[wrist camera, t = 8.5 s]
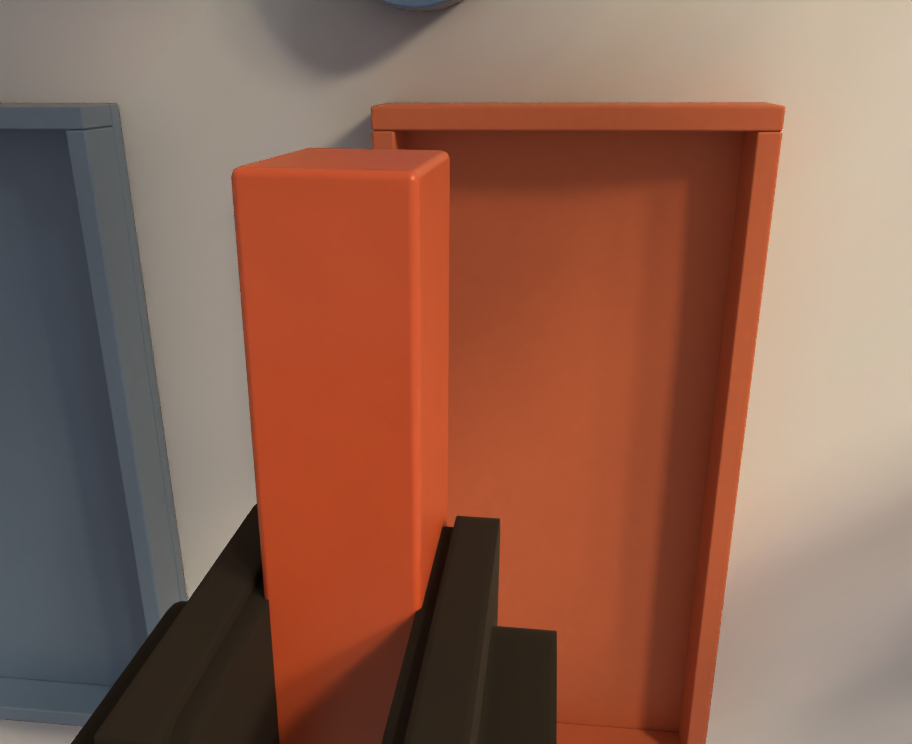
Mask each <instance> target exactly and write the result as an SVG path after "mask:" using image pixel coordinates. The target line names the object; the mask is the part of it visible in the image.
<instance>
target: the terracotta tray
mask: <svg viewBox="0 0 912 744" xmlns="http://www.w3.org/2000/svg"><path fill="white" fill-rule="evenodd" d="M784 114H785V107H784V106H781V105H776V104H770V103H765V102H759V103H385V104H381V105H376V106H372V107H371V122H372V130H374V131H373V132H372V146H373V149H396V150H442V151H444V152H446V153H448V156H449V158H450V213H449V372H448V527H454V523H455V519H456V516H471V517H486V518H500V558H499V590H498V623H497V626H504V627H516V628H528V629H541V630H553V631H557V744H706V736H707V728H708V720H709V712H710V704H711V696H712V688H713V680H714V672H715V665H716V657H717V649H718V641H719V633H720V625H721V617H722V609H723V601H724V593H725V585H726V577H727V569H728V561H729V553H730V545H731V537H732V529H733V521H734V513H735V505H736V497H737V489H738V481H739V473H740V465H741V457H742V449H743V441H744V433H745V425H746V417H747V409H748V401H749V393H750V386H751V378H752V370H753V362H754V354H755V346H756V338H757V330H758V322H759V314H760V306H761V298H762V290H763V282H764V274H765V266H766V258H767V250H768V242H769V234H770V226H771V218H772V210H773V202H774V194H775V186H776V178H777V170H778V162H779V154H780V146H781V138H782V132H780V131H782V129H783V122H784Z"/></svg>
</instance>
